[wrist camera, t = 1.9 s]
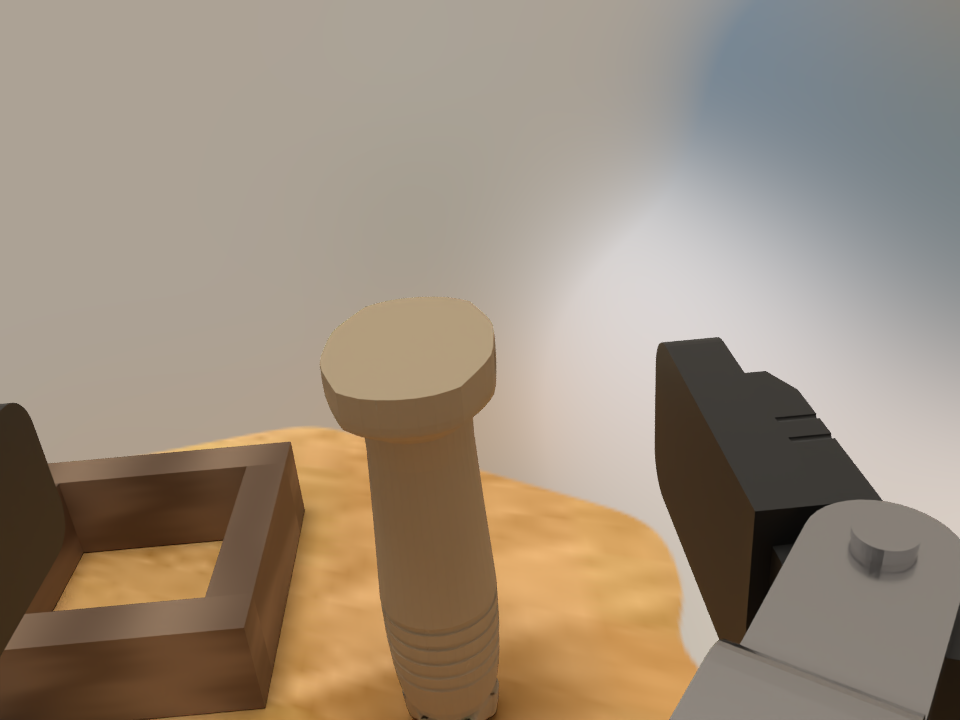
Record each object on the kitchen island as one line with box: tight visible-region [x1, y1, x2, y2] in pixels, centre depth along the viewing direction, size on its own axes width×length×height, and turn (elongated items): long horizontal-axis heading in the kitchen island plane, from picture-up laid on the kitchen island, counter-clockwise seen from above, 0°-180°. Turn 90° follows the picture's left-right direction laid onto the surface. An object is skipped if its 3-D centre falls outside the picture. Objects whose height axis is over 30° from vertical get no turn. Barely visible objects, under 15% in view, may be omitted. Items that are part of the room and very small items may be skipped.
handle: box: [320, 297, 499, 720], centre depth 29 cm, size 5×6×15 cm
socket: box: [0, 442, 305, 720], centre depth 37 cm, size 12×12×4 cm
